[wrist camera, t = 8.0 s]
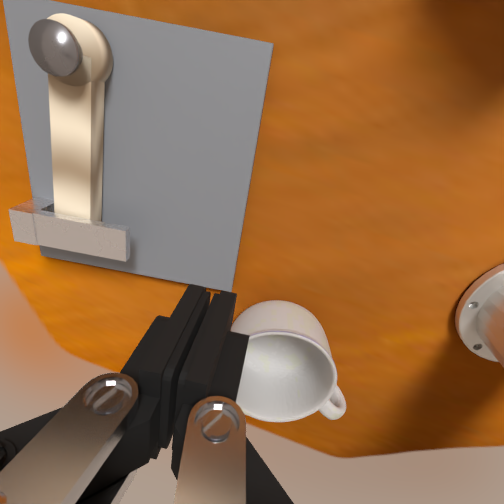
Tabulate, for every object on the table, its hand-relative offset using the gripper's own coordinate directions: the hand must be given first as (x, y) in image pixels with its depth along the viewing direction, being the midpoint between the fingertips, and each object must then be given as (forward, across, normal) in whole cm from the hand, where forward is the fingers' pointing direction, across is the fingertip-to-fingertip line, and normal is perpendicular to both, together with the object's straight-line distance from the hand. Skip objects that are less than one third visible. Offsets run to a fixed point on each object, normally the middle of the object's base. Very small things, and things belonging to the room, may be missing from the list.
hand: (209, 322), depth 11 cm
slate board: (+19, +11, 0) cm, 22 cm away
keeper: (+19, +15, +6) cm, 25 cm away
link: (+18, +16, -1) cm, 24 cm away
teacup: (+20, -6, +16) cm, 27 cm away
